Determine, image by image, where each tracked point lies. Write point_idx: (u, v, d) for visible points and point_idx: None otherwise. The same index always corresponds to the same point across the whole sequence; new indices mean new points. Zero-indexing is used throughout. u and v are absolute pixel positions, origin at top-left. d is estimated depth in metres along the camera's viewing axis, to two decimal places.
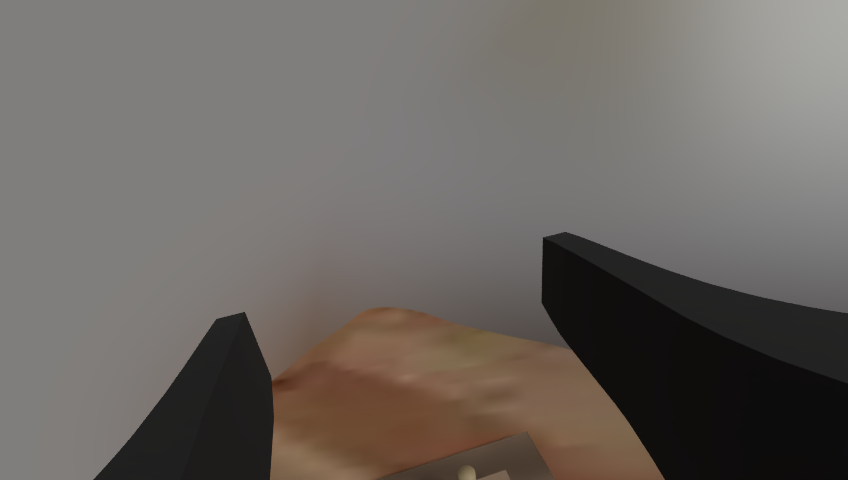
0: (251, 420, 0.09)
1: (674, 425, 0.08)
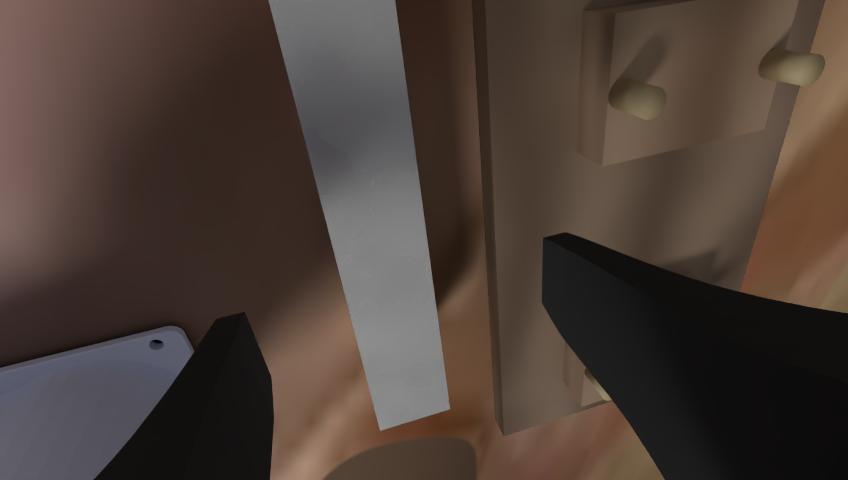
0: (251, 420, 0.09)
1: (674, 425, 0.08)
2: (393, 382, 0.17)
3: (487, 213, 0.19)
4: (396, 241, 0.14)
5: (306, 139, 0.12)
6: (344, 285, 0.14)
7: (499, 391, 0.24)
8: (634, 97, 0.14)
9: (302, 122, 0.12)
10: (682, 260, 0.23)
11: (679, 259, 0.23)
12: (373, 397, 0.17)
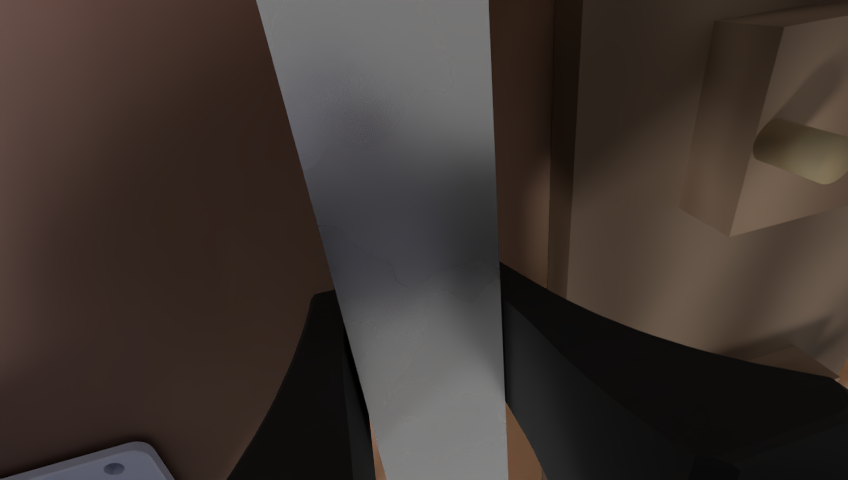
0: (359, 389, 0.09)
1: (564, 462, 0.08)
2: None
3: (554, 285, 0.15)
4: (459, 375, 0.09)
5: (326, 244, 0.07)
6: (378, 438, 0.09)
7: None
8: (809, 152, 0.10)
9: (319, 218, 0.07)
10: (787, 331, 0.18)
11: (784, 330, 0.18)
12: None
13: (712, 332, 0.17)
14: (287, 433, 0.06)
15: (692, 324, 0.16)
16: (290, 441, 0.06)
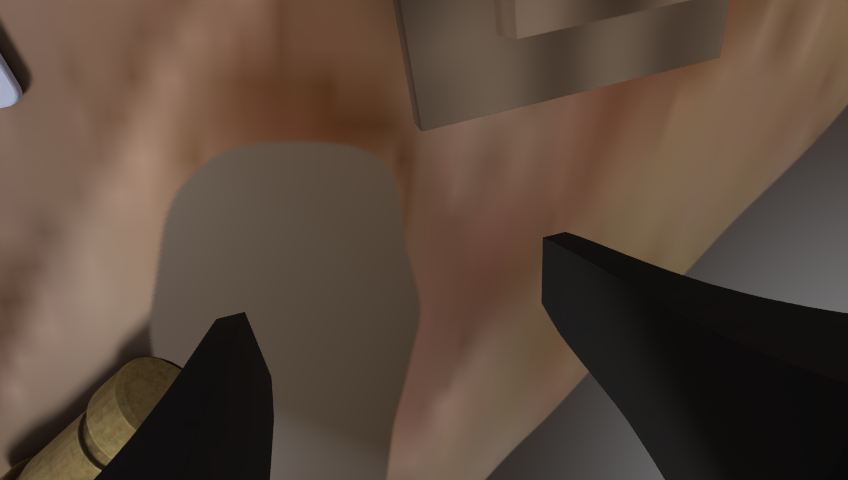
0: (251, 420, 0.09)
1: (674, 425, 0.08)
2: None
3: None
4: None
5: None
6: None
7: (406, 45, 0.17)
8: None
9: None
10: None
11: None
12: None
13: None
14: None
15: None
16: None
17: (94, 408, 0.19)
